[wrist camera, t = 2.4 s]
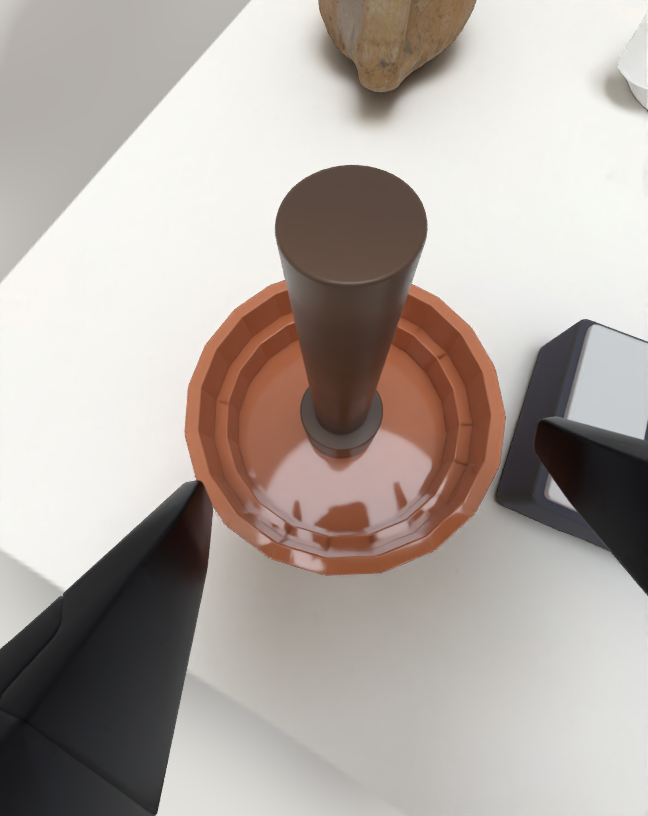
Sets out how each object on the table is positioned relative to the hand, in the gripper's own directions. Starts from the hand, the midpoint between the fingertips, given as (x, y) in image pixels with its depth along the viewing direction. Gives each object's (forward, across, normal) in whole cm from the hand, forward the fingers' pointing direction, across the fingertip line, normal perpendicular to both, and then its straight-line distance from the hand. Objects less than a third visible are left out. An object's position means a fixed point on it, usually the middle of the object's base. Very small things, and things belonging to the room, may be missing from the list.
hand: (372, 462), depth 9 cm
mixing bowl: (+11, 0, +5) cm, 12 cm away
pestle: (+10, 0, +5) cm, 12 cm away
